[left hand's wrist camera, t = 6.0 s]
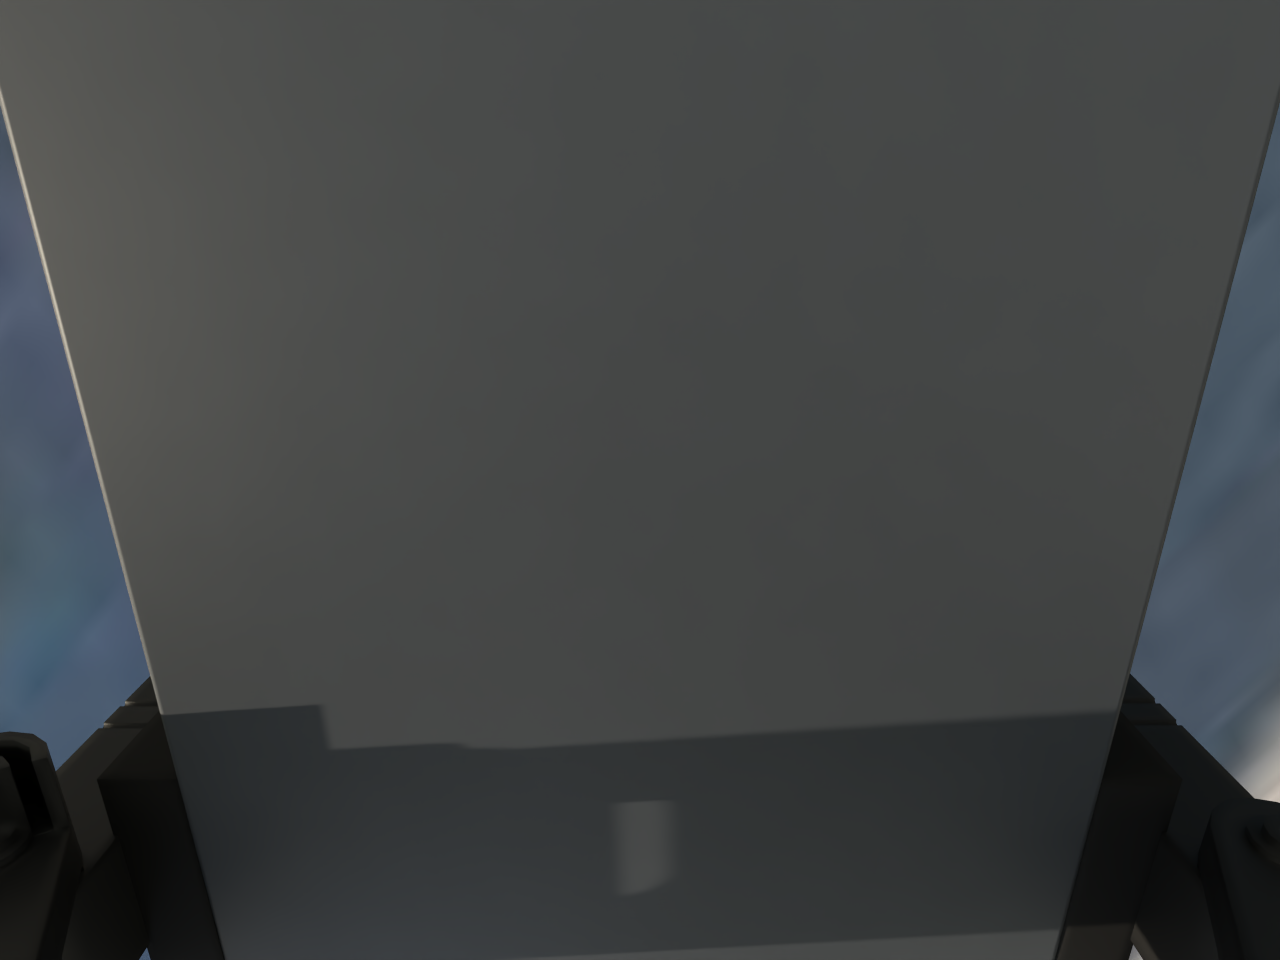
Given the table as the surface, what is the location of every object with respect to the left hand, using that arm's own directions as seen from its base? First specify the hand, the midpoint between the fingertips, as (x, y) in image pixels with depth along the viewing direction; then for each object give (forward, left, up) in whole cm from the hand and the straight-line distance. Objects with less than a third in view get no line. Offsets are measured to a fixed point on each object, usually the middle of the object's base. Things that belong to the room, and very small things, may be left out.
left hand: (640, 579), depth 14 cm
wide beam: (+21, +15, -1) cm, 26 cm away
